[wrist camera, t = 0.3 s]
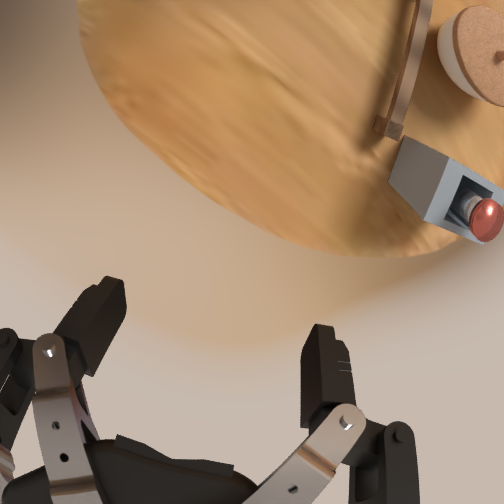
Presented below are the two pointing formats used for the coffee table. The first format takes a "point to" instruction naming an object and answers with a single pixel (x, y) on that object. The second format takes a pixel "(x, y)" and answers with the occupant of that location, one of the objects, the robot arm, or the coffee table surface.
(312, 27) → the coffee table surface
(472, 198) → the plunger
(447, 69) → the lidded bowl
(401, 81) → the brown curved bar
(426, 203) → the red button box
